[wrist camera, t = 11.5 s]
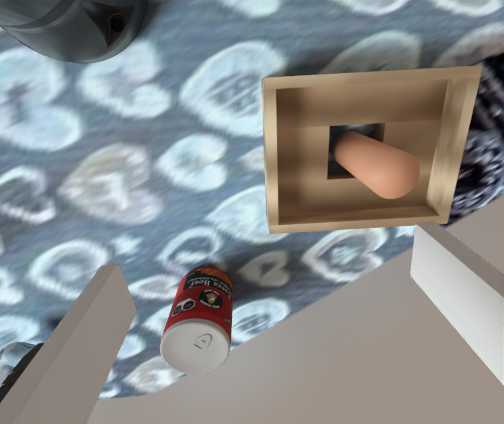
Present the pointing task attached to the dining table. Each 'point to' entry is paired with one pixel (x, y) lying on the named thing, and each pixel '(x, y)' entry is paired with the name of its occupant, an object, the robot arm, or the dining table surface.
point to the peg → (376, 164)
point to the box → (386, 131)
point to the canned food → (199, 323)
